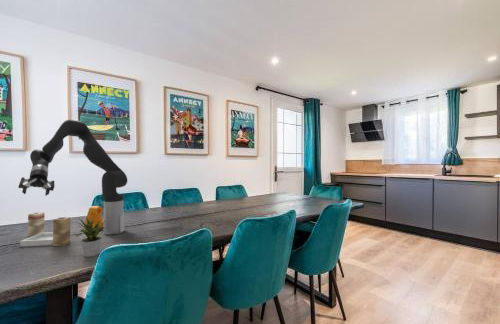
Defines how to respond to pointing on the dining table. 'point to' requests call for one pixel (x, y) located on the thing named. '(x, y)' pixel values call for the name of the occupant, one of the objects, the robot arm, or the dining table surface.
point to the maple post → (35, 223)
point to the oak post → (61, 231)
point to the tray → (38, 240)
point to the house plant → (91, 238)
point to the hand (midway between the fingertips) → (35, 193)
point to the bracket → (97, 213)
